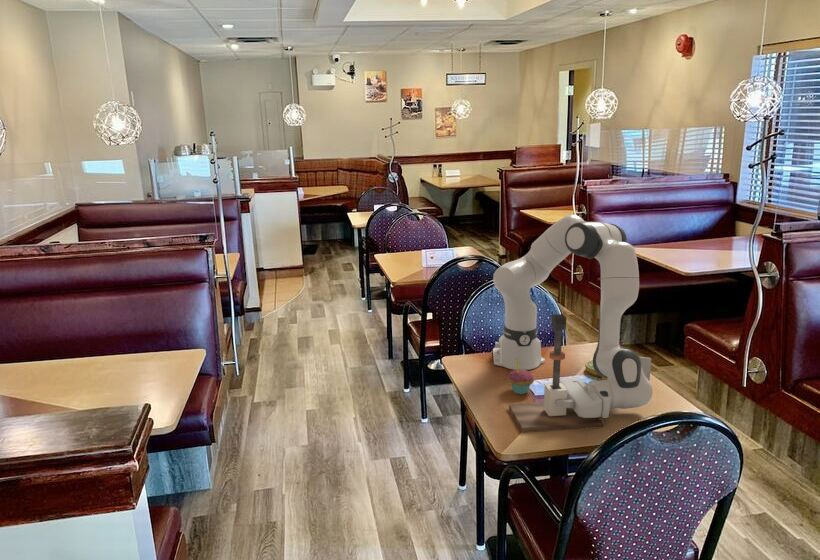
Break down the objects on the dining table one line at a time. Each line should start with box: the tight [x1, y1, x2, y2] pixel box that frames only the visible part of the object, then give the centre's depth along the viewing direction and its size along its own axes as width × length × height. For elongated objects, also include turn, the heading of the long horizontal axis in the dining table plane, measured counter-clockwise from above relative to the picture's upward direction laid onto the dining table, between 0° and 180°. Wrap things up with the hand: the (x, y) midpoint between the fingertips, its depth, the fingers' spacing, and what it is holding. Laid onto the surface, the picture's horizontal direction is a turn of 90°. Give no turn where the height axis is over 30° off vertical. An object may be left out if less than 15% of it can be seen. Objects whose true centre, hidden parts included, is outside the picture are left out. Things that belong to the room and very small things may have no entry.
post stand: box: [508, 313, 604, 433], centre depth 186 cm, size 15×24×32 cm, turn 96°
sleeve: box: [543, 383, 567, 416], centre depth 189 cm, size 5×5×8 cm
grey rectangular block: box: [639, 356, 652, 382], centre depth 210 cm, size 4×7×10 cm, turn 70°
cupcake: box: [507, 358, 535, 395], centre depth 207 cm, size 9×8×12 cm
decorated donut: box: [584, 359, 602, 378], centre depth 222 cm, size 10×11×4 cm
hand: (552, 398), depth 188 cm, fingers closed on sleeve, 5 cm apart
